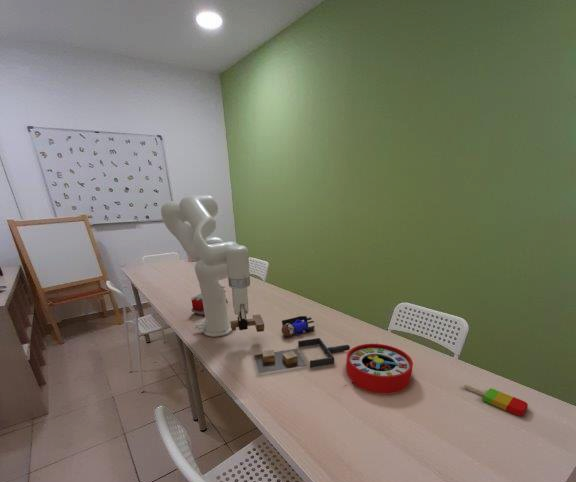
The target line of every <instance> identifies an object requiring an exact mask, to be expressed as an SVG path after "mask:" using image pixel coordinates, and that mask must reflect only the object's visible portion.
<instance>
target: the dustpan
mask: <svg viewBox="0 0 576 482" xmlns="http://www.w3.org/2000/svg"><path fill="white" fill-rule="evenodd" d="M297 344H298V345H297V347H298V348H302V347H310V346H317V345H319V347H320V348H321V349H322V351H323V353H324V354H325V355H326V357H324V358H318V359H311V360H309V368H317V367H323V366H328V365H334V364H335V356H334V355H333V353H340V352H345V351H350V350H351V346H350V344H343V345H337V346H330V347H329V346H328V347H327V345H326V344H325V343H324V342H323V340H322V339H321V338H320V337H315V338H310V339H302V340H297Z"/></svg>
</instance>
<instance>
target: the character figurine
mask: <svg viewBox="0 0 576 482" xmlns="http://www.w3.org/2000/svg"><path fill="white" fill-rule="evenodd" d="M314 322H315V321H314V320H312V317H310V316H309V317H308V316H307V315H300V316H295V317H292V318H287V319H283V320H281V323H282V326H281V333H282V335H284V337H291V336H293V335H294V336H300V335H303V334H305V333H310V331H311V330H315V328H316V325H312V326H309V324H313V323H314ZM299 332H301V333H300V334H299Z"/></svg>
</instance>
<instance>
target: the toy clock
mask: <svg viewBox="0 0 576 482" xmlns="http://www.w3.org/2000/svg"><path fill="white" fill-rule="evenodd" d="M413 366H414V361H413V359H412V357H410V355H409V354H408V353H407V352H405V351H403V350H402V349H399V348H397V347H394V346H392V345H388V344H387V345H386V344H383V343H382V344H381V343H365V344H364V343H363V344H359V345H356V346H354V347H352V348H350V349H349V350H348V352H347V355H346V363H345V372H346V375H347V376H348V378H349V379H350V380H351V384H352V385H354V386H355V387H356V388H359V389H361V390H363V391H366V392H369V393H373V394H381V395H391V394H397V393H400V392H402V391H404V390H406V389H407V388H408V387H409V386H410V384H411V380H412V379H411V378H412V373H413Z"/></svg>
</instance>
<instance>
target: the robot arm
mask: <svg viewBox="0 0 576 482" xmlns="http://www.w3.org/2000/svg"><path fill="white" fill-rule="evenodd" d="M218 212H219V205H218V202H217V201H216V199H215V198H214V197H213V196H211V195H209V194H200V195H198V194H196V195H187V196H184V197H183V198H181V199H180V200H179V199H178V200H177V199H175V200H170V201H166V202H165V203H164V204H162V205H161V207H160V215H161V219H162V221H163V223H164V225H165V228H167V230H168V231H169V233H170V234H171V235H173V236H174V237H175V238H176V240H177V241H178V242H179V244H180V245H181V247H182V249H183V250H184V252H185V253H186V254H187V256H188V257H189V259H190V260H191V261H192V262H194V263H195V265H194V272H195V276H196V278H197V281H198V285H199V289H200V294H201V295H202V301H203V307H204V314H203V315H204V321H203V322H198V323H195V324H194V326H195V329H198V330H202V331H203V334H204V335H205V336H208V337H211V338H212V337H213V338H214V337H215V338H217V337H223V336H227V335H228V334H230V333H232V332H233V330H232V329H231V324H230V323H229V322H230V321H229V313H228V303H226V299H227V296H226V290H225V288H223V287H224V286H222V285H221V284H220V283H219V281H222V280H225V279H227V280H228V281H227V282H228V287H229V288H230V289H231V297H232V308H233V313H234V315H235V316H237V320H238V323H239V327H238V330H239V331H245V330H249V329H248V327H249V326H247V319H248V318H247V315H248V314H249V293H248V288H249V287H250V286H251V277H250V260H249V250H248V247H247V246H245V245H244V244H243V245H242V244H239V243H237V242H235V241H233V240H231V241H224V240H223V238H221V237H220V236H217V235H215V236H214V235H213V233H214V232H215V230H216V228H217V221H216V220H215V217H216V216H217V215H218V214H219V213H218ZM188 223H189V224H188ZM211 235H213V236H211Z"/></svg>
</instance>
